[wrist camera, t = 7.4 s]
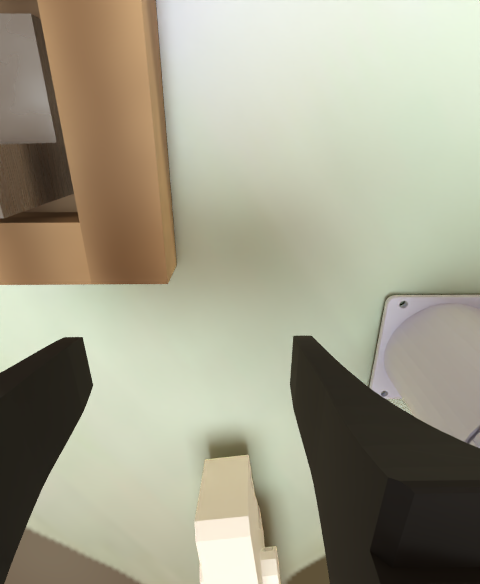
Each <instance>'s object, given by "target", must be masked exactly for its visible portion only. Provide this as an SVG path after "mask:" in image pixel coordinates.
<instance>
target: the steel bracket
mask: <svg viewBox="0 0 480 584" xmlns="http://www.w3.org/2000/svg"><path fill="white" fill-rule="evenodd" d="M72 194H74V190H73V185H72V180H71V175H70V169H69V164H68V159H67V154H66V148H65V143H64V138H63V133H62V128H61V122H60V117H59V112H58V107H57V101H56V96H55V91H54V86H53V81H52V75H51V70H50V65H49V60H48V54H47V49H46V44H45V39H44V34H43V28H42V23H41V19H39V18H37V17H36V16H34V15H32V14H3V13H0V218H6V217H9V216H12V215H15V214H18V213H21V212H23V211H26V210H29V209H32V208H35V207H38V206H40V205H43V204H46V203H49V202H52V201H55V200H57V199H60V198H63V197H66V196H69V195H72Z"/></svg>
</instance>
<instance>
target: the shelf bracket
mask: <svg viewBox="0 0 480 584" xmlns="http://www.w3.org/2000/svg"><path fill="white" fill-rule="evenodd" d="M195 537H196V545H197V550H198V555H199V560H200V584H281V581H280V570H279V560H278V553H277V546H273V547H265V544H264V532H263V526H262V519H261V513H260V507H259V506H258V503H257V499H256V497H255V492H254V485H253V479H252V477H251V466H250V459H249V455H241V456H232V457H223V458H213V459H205V462H204V468H203V474H202V480H201V486H200V492H199V498H198V504H197V510H196V516H195Z"/></svg>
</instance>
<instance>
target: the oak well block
mask: <svg viewBox="0 0 480 584" xmlns="http://www.w3.org/2000/svg"><path fill="white" fill-rule="evenodd" d="M0 13H3V14H32V15H34V16H36V17H37V18H39V19H41V23H42V28H43V34H44V39H45V44H46V49H47V54H48V60H49V65H50V70H51V75H52V81H53V86H54V91H55V96H56V101H57V107H58V112H59V117H60V122H61V128H62V133H63V138H64V143H65V148H66V154H67V159H68V164H69V169H70V175H71V180H72V185H73V190H74V194H72V195H69V196H66V197H63V198H60V199H57V200H55V201H52V202H49V203H46V204H43V205H40V206H38V207H35V208H32V209H29V210H26V211H23V212H21V213H18V214H15V215H12V216H9V217H6V218H0V285H49V284H168V283H169V280H170V278H171V276H172V274H173V272H174V270H175V267H176V265H177V261H176V249H175V236H174V224H173V211H172V199H171V186H170V174H169V161H168V149H167V136H166V124H165V111H164V99H163V86H162V74H161V62H160V49H159V37H158V24H157V12H156V0H0Z"/></svg>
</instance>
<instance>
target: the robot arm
mask: <svg viewBox="0 0 480 584" xmlns="http://www.w3.org/2000/svg"><path fill="white" fill-rule="evenodd" d="M402 301H405V303H404V304H403V305H401V306H399V304H400V303H401V302H402ZM92 387H93V383H92V378H91V374H90V369H89V365H88V360H87V355H86V351H85V346H84V342H83V337H64V338H62V339H60V340H58V341H56V342H54V343H52V344H50V345H48V346H47V347H45V348H43V349H41V350H40V351H38V352H36V353H34V354H33V355H31V356H29V357H28V358H26V359H24V360H22V361H21V362H19V363H17V364H15V365H14V366H12V367H10V368H8V369H7V370H5V371H3V372H1V373H0V584H4V582H5V580H6V577H7V574H8V571H9V569H10V566H11V563H12V561H13V558H14V555H15V553H16V550H17V548H18V545H19V543H20V540H21V538H22V535H23V532H24V530H25V528H26V525H27V523H28V520H29V518H30V515H31V513H32V511H33V508H34V506H35V504H36V501H37V499H38V497H39V494H40V492H41V490H42V488H43V486H44V484H45V482H46V480H47V478H48V476H49V474H50V472H51V470H52V468H53V466H54V464H55V463H56V461H57V459H58V457H59V455H60V454H61V452H62V450H63V448H64V446H65V445H66V443H67V441H68V439H69V437H70V436H71V434H72V432H73V430H74V428H75V426H76V425H77V423H78V421H79V419H80V417H81V415H82V413H83V411H84V409H85V406H86V404H87V401H88V399H89V396H90V393H91V390H92ZM290 387H291V394H292V401H293V408H294V413H295V416H296V420H297V424H298V427H299V431H300V434H301V438H302V442H303V445H304V449H305V452H306V456H307V459H308V463H309V467H310V470H311V474H312V479H313V483H314V488H315V494H316V499H317V505H318V511H319V516H320V523H321V529H322V535H323V541H324V547H325V553H326V560H327V566H328V573H329V579H330V584H480V295H393V296H390V297H389V298H388V299H387V300H386V302H385V307H384V312H383V318H382V323H381V328H380V333H379V339H378V344H377V349H376V354H375V360H374V365H373V370H372V376H371V381H370V386H369V387H368V386H366V385H365V384H364V383H363V382H361V381H360V380H359V379H358V378H356V377H355V376H354V375H353V374H352V373H350V372H349V371H348V370H347V369H346V368H345V367H343V366H342V365H341V364H340V363H339V362H338V361H337V360H336V359H335V358H334V357H333V356H332V355H330V354H329V353H328V352H327V351H326V350H325V349H324V348H323V347H322V346H321V345H320V344H319V343H318V342H317V341H316V340H315V339H314V338H313V337H312V336H294V337H293V350H292V364H291V378H290ZM383 391H385V392H384V393H381V392H383ZM386 399H403V400H404V402H405V404H406V405H407V407H408V408H409V410H410V411H411V413H412V415H413V416H412V415H411V414H409V413H407V412H405V411H404V410H402V409H400V408H399V407H397V406H395V405H394V404H392V403H391V402H389V401H388V400H386Z"/></svg>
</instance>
